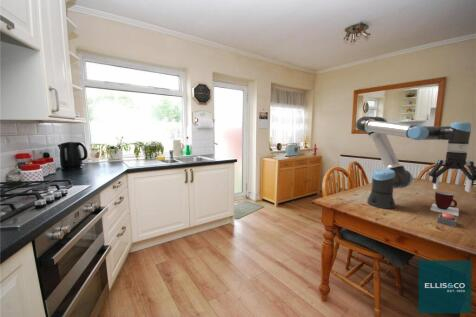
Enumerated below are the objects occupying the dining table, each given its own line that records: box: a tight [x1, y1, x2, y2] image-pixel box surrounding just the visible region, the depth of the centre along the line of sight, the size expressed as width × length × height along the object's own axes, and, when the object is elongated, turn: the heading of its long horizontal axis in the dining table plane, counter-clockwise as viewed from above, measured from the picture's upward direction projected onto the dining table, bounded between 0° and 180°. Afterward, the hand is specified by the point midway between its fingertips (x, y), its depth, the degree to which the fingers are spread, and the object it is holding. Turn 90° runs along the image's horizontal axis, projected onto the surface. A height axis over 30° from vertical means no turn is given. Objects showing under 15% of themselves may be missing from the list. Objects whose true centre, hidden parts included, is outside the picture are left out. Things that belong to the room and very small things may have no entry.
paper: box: [429, 203, 460, 217], centre depth 127 cm, size 16×12×1 cm
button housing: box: [436, 213, 458, 228], centre depth 108 cm, size 7×7×3 cm
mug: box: [434, 190, 458, 210], centre depth 126 cm, size 10×8×10 cm
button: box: [441, 213, 455, 220], centre depth 108 cm, size 4×4×2 cm
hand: (450, 190), depth 111 cm, fingers open, 13 cm apart
